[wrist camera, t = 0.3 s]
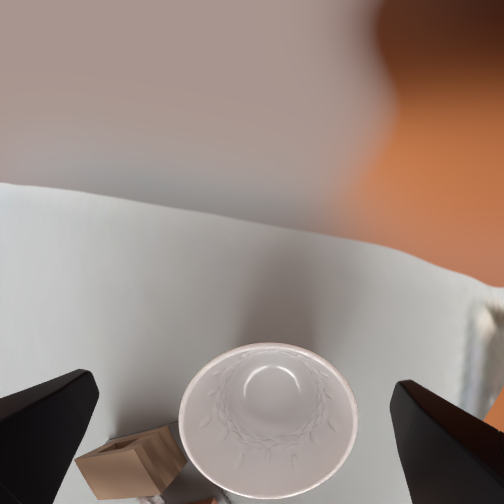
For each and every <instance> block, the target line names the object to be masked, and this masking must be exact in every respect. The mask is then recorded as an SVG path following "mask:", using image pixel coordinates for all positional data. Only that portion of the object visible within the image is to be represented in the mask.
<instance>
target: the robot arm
mask: <svg viewBox="0 0 504 504" xmlns="http://www.w3.org/2000/svg"><path fill="white" fill-rule="evenodd" d="M98 398H99V390H98V387H97V385H96V382H95V379H94V377H93V374H92V373H91V372H90V371H88V370H84V369H77V370H75V371H72V372H70V373H67V374H65V375H62V376H60V377H57V378H54V379H52V380H49V381H47V382H44V383H41V384H39V385H36V386H33V387H31V388H28V389H25V390H22V391H20V392H17V393H14V394H11V395H9V396H6V397H3V398H0V504H53V502H54V499H55V497H56V495H57V492H58V490H59V488H60V486H61V483H62V481H63V479H64V477H65V474H66V472H67V470H68V468H69V466H70V464H71V462H72V459H73V457H74V455H75V453H76V451H77V449H78V447H79V445H80V443H81V441H82V439H83V437H84V435H85V432H86V430H87V427H88V425H89V422H90V419H91V416H92V414H93V411H94V409H95V406H96V403H97V401H98ZM390 413H391V418H392V423H393V428H394V433H395V438H396V444H397V449H398V454H399V457H400V461H401V464H402V467H403V471H404V474H405V478H406V481H407V485H408V488H409V492H410V496H411V500H412V503H413V504H504V433H503V432H501V431H498V429H496V428H494V427H492V426H490V425H489V424H487V423H485V422H483V421H482V420H480V419H478V418H476V417H474V416H473V415H471V414H469V413H467V412H466V411H464V410H462V409H460V408H459V407H457V406H455V405H453V404H452V403H450V402H448V401H447V400H445V399H443V398H441V397H440V396H438V395H436V394H435V393H433V392H431V391H429V390H428V389H426V388H424V387H423V386H421V385H419V384H418V383H416V382H414V381H413V380H403V381H398V382H397V383H396V385H395V388H394V392H393V395H392V398H391V401H390Z"/></svg>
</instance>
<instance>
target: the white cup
mask: <svg viewBox="0 0 504 504" xmlns="http://www.w3.org/2000/svg"><path fill="white" fill-rule="evenodd" d="M357 430H358V409H357V404H356V400H355V397H354V394H353V392H352V390H351V388H350V386H349V384H348V382H347V381H346V379H345V378H344V377H343V375H342V374H341V373H340V372H339V371H338V370H337V369H336V368H335V367H334V366H333V365H332V364H331V363H329V362H328V361H327V360H325V359H324V358H322V357H321V356H319V355H317V354H316V353H314V352H311V351H309V350H307V349H304V348H301V347H298V346H294V345H290V344H284V343H273V342H265V343H254V344H248V345H244V346H240V347H237V348H234V349H231V350H229V351H227V352H225V353H223V354H221V355H219V356H217V357H216V358H214V359H213V360H211V361H210V362H209V363H207V364H206V365H205V366H204V367H203V368H202V369H201V370H200V371H199V372H198V373H197V374H196V375H195V376H194V378H193V379H192V380H191V382H190V383H189V385H188V387H187V389H186V391H185V393H184V395H183V398H182V401H181V405H180V409H179V432H180V437H181V441H182V444H183V446H184V449H185V451H186V453H187V455H188V457H189V458H190V460H191V461H192V463H193V464H194V465H195V467H196V468H197V469H198V470H199V471H200V472H201V473H202V474H203V475H204V476H205V477H206V478H207V479H209V480H210V481H211V482H213V483H214V484H216V485H217V486H219V487H221V488H223V489H225V490H227V491H229V492H232V493H234V494H237V495H241V496H245V497H249V498H256V499H279V498H286V497H291V496H295V495H298V494H301V493H304V492H306V491H309V490H311V489H313V488H315V487H316V486H318V485H320V484H321V483H323V482H324V481H326V480H327V479H328V478H330V477H331V476H332V475H333V474H334V473H335V472H336V471H337V470H338V469H339V468H340V467H341V465H342V464H343V463H344V462H345V460H346V459H347V457H348V455H349V454H350V452H351V450H352V447H353V445H354V442H355V439H356V435H357Z"/></svg>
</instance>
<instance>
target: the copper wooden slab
mask: <svg viewBox="0 0 504 504" xmlns="http://www.w3.org/2000/svg"><path fill="white" fill-rule="evenodd" d="M136 498H137V500H138V501H139V503H140V504H168V503H167V501H166V500H165V499H164V497H163V496H162V494H159V495H152V496H144V497H136ZM184 504H218V502H217V501H216V499H215V498H209V499H205V500H200V501H195V502H189V503H184Z"/></svg>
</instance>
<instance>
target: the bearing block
mask: <svg viewBox="0 0 504 504" xmlns="http://www.w3.org/2000/svg"><path fill="white" fill-rule="evenodd" d="M106 443H107V444H105V445H103V446H101V447H99V448H97V449H95V450H93V451H91V452H89V453H87V454H85V455H82V456H80V457H78V458H76V459H74V461H75V462H76V464H77V466H78V468H79V470H80V471H81V473H82V475H83V477H84V478H85V480H86V482H87V483H88V485H89V487H90V488H91V490H92V491H93V493H94V495H95V496H96V498H97V499H98V500H106V499H123V498H135V497H144V496H152V495H159V494H162V496H163V497H164V499H165V500H166V501H167V503H168V504H184V503H189V502H195V501H200V500H205V499H209V498H215V499H216V501H217V502H218V504H230V502H229V501H228V499H227V498H226V496H225V495H224V493H223V492H222V490H221V489H220V487H219V486H217V485H216V484H214V483H213V482H211V481H210V480H209V479H207V478H206V477H205V476H204V475H203V474H202V473H201V472H200V471H199V470H198V469H197V468H196V467H195V465H194V464H193V463H192V461H191V460H190V458H189V457H188V455H187V453H186V451H185V449H184V446H183V444H182V441H181V437H180V432H179V421H177V422H174V423H171V424H167V425H164V426H161V427H157V428H154V429H150V430H147V431H143V432H140V433H136V434H132V435H128V436H124V437H120V438H116V439H111V440H108V441H106Z"/></svg>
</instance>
